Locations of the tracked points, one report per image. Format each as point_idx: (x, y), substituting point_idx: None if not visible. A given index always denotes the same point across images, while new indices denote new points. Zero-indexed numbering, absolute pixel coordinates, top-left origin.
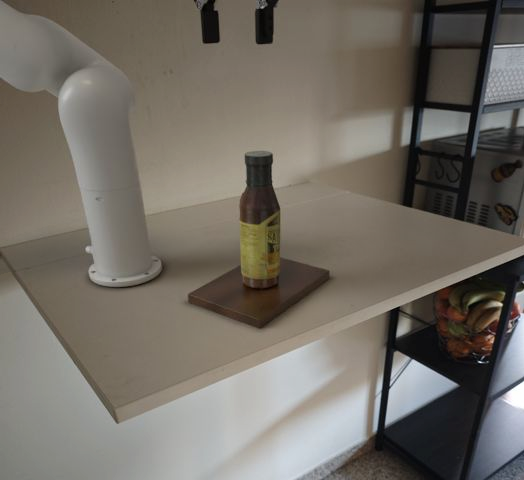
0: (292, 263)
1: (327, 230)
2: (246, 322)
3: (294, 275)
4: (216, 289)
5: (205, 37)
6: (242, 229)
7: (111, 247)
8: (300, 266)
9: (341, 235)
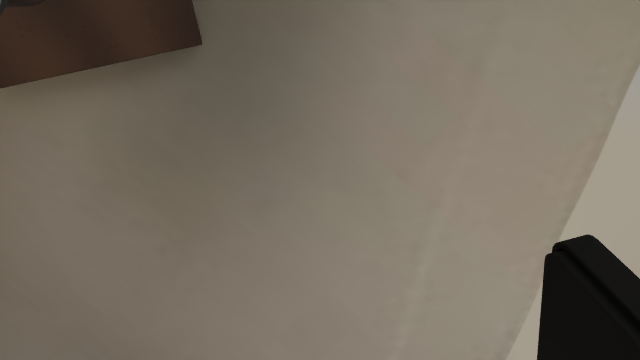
0: (89, 52)
1: (236, 264)
2: None
3: None
4: None
5: (580, 269)
6: None
7: None
8: (59, 54)
9: (190, 268)
